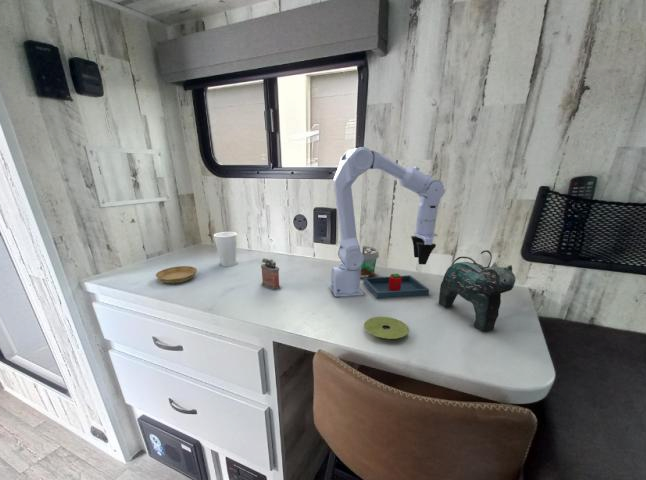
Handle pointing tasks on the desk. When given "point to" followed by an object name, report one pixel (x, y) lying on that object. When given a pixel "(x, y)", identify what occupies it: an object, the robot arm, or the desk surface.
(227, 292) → the desk surface
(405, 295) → the tray
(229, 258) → the foam cup
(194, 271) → the plant saucer
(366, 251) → the food container
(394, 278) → the strawberry
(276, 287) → the lighter
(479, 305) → the ceramic cat
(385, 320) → the green disc
